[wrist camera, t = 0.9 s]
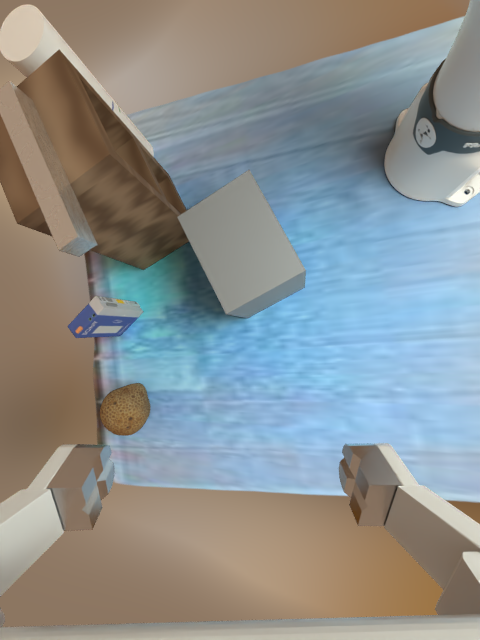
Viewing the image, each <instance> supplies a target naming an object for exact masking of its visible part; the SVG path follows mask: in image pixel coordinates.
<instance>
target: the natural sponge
mask: <svg viewBox="0 0 480 640" xmlns="http://www.w3.org/2000/svg"><path fill="white" fill-rule="evenodd" d="M149 414H150V403H149V399H148V395H147V391H146V389H145V387H144V386H143V385H142V384H140V383H135V384H130V385H127V386H124V387H122V388H119V389H116V390H114V391H112V392H110V393H109V394H108V395H107V396H106V397H105V398H104V400H103V402H102V405H101V408H100V418H101V421H102V423H103V425H104V426H105V427H106V428H107V429H108V430H109V431H111V432H112V433H114V434H117V435H131V434H134V433H135V432H137V431H138V430H139V429H141V428H142V426H143V425H144V424H145V422H146V420H147V418H148V416H149Z"/></svg>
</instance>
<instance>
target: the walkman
mask: <svg viewBox="0 0 480 640" xmlns="http://www.w3.org/2000/svg"><path fill="white" fill-rule="evenodd" d="M142 313H143V310H142V309H141V308H140V305H139V304H138V303H137V302H134V301H127V300H121V299H114V298H106V297H99V296H95V297H94V298H93V299H92V300H91V301H90V303H89V304H88V305H87V306H86V307H85V308H84V309H83V310H82V311H81V312H80V313H79V314H78V316H77V317H76V318H75V319H74V320H73V321H72V322H71V323H70V324H69V325H68V328H69V329H70V331H71V332H72V333H73V335H74V336H75V337H76V338H86V337H109V336H120V335H121V334H122V333H123V332H124V331H125V330H126V329H127V328H128V327H129V326H130V325H131V324H132V323H133V322H134V321H135V320H136V319H137V318H138V317H139V316H140V315H141V314H142Z"/></svg>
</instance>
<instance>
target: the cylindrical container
mask: <svg viewBox="0 0 480 640" xmlns="http://www.w3.org/2000/svg"><path fill="white" fill-rule="evenodd" d="M58 50H60V51H61V52H62V53H63V54H64V55H65V56H66V58H67V59H68V60H69V61H70V62H71V63H72V64H73V66H74V67H75V68H76V69H77V70H78V71H79V72H80V74H81V75H82V76H83V77H84V78H85V79H86V80H87V82H88V83H89V84H90V85H91V86H92V87H93V88H94V90H95V91H96V92H97V93H98V94H99V95H100V97H101V98H102V99H103V100H104V101H105V102H106V103H107V105H108V106H109V107H110V108H111V109H112V110H113V111H114V113H115V114H116V115H117V116H118V117H119V118H120V119H121V121H122V122H123V123H124V124H125V125H126V126H127V127H128V129H129V130H130V131H131V132H132V133H133V134H134V135H135V137H136V138H137V139H138V140H139V141H140V142H141V143H142V145H143V146H144V147H145V148H146V149H147V150H148V151H149V153H150V154H151V155H152V156H153V157H154V151H153V148H152V146H151V144H150V143H149V142H148V141H147V140H146V138H145V137H144V136H143V135H142V133H141V132H140V131H139V130H138V129H137V127H136V126H135V125H134V124H133V123H132V121H131V120H130V119H129V118H128V117H127V115H126V114H125V113H124V112H123V110H122V109H121V108H120V107H119V106H118V105H117V103H116V102H115V101H114V100H113V98H112V97H111V96H110V95H109V94H108V93H107V91H106V90H105V89H104V88H103V86H102V85H101V84H100V83H99V82H98V81H97V79H96V78H95V77H94V76H93V74H92V73H91V72H90V71H89V70H88V69H87V67H86V66H85V65H84V63H83V62H82V61H81V60H80V59H79V57H78V56H77V55H76V54H75V53H74V51H73V50H72V49H71V48H70V47H69V45H68V44H67V43H66V42H65V41H64V39H63V38H62V37H61V36H60V35H59V34H58V32H57V31H56V30H55V29H54V27H53V26H52V25H51V24H50V23H49V21H48V20H47V19H46V18H45V16H44V15H43V14H42V13H41V12H40V10H39V9H38V8H36V7H35V6H33V5H21V6H19V7H17V8H16V9H14V10H13V11H12V12H11V13H10V14H9V15H8V16H7V18H6V19H5V21H4V22H3V24H2V27H1V29H0V51H1V53H2V54H3V56H4V57H5V58H6V59H7V60H8V61H9V62H10V63H11V64H13V65H14V66H15V67H16V68H17V69H18V70H19V71H20V72H21V73H22V74H24V75H25V76H26V77H28V76H29V75H31V74H32V73H33V72H34V71H35V70H36V69H37V68H38V67H40V66H41V65H42V64H43V63H44V62H45V61H46V60H48V59H49V58H50V57H51V56H52V55H53V54H54V53H55V52H57V51H58Z"/></svg>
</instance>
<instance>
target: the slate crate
mask: <svg viewBox="0 0 480 640" xmlns="http://www.w3.org/2000/svg"><path fill="white" fill-rule="evenodd" d="M177 218H178V220H179V222H180V224H181V226H182V228H183V230H184V232H185V234H186V236H187V238H188V240H189V242H190V244H191V246H192V248H193V250H194V252H195V253H196V255H197V257H198V259H199V261H200V263H201V265H202V267H203V269H204V271H205V273H206V275H207V277H208V279H209V281H210V283H211V285H212V287H213V289H214V291H215V293H216V295H217V297H218V299H219V301H220V303H221V305H222V307H223V309H224V311H225V313H226V314H227V315H233V316H238V317H244V318H249V317H251V316H253V315H255V314H256V313H258V312H260V311H262V310H264V309H266V308H268V307H269V306H271V305H273V304H275V303H277V302H279V301H281V300H282V299H284V298H286V297H288V296H290V295H292V294H294V293H295V292H297V291H299V290H301V289H303V288H305V274H306V270H305V268H304V267H303V265H302V263H301V261H300V259H299V258H298V256H297V254H296V252H295V250H294V249H293V247H292V245H291V243H290V242H289V240H288V238H287V236H286V234H285V233H284V231H283V229H282V227H281V225H280V224H279V222H278V220H277V218H276V217H275V215H274V213H273V211H272V209H271V208H270V206H269V204H268V202H267V200H266V199H265V197H264V195H263V193H262V192H261V190H260V188H259V186H258V184H257V183H256V181H255V179H254V177H253V175H252V174H251V172H250V170H248V171H246V172H245V173H243V174H242V175H240V176H239V177H237V178H236V179H234V180H233V181H231V182H230V183H228V184H227V185H225V186H224V187H222V188H221V189H219V190H218V191H216V192H214V193H213V194H211V195H210V196H208V197H207V198H205V199H204V200H202V201H201V202H199V203H198V204H196V205H195V206H193V207H192V208H190V209H189V210H187V211H185V212H184V213H182V214H181V215H179V216H178V217H177Z"/></svg>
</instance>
